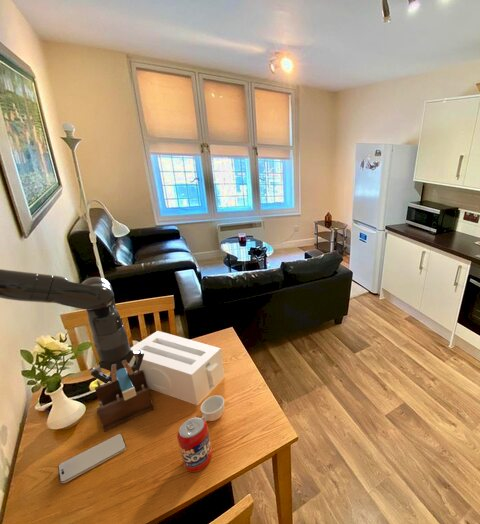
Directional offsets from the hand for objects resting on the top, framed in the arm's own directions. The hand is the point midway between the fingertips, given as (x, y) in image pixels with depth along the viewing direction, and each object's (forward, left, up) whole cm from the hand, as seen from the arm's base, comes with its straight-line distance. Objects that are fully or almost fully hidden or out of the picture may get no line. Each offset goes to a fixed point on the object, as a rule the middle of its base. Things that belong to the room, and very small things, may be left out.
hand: (125, 384), depth 92 cm
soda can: (+12, -27, -18) cm, 34 cm away
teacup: (+20, -14, -18) cm, 30 cm away
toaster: (+16, +11, -18) cm, 27 cm away
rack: (-2, +9, -17) cm, 20 cm away
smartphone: (-12, -6, -18) cm, 22 cm away
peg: (0, 0, 0) cm, 0 cm away
